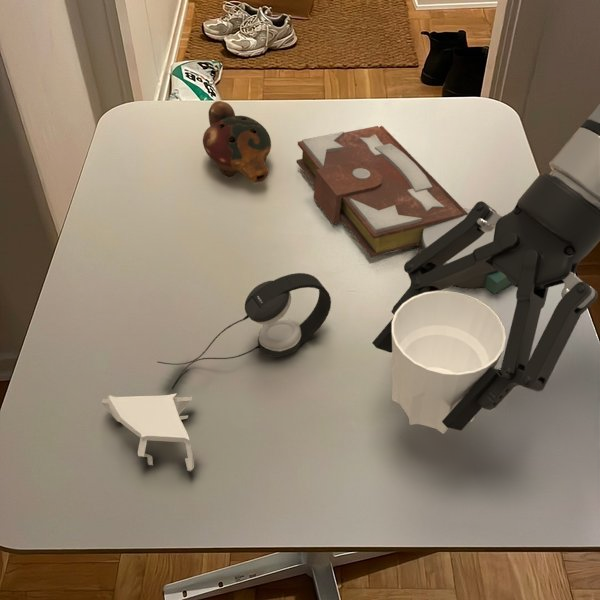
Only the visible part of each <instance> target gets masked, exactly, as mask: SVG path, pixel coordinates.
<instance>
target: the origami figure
mask: <svg viewBox="0 0 600 600" xmlns="http://www.w3.org/2000/svg"><path fill="white" fill-rule="evenodd" d="M192 400H193V396H182V397H181V396H179V397H178V396H177V393H171V394H167V395H163V394H162V395H136V396H135V395H133V396H132V395H131V396H114V395H112V394H108V396H107V398H102V401H101V404H102V405H103V406H104V407H105V409H106V410H107V411H108V412H109V413H110V415H112V417H113V419H115V421H116V422H117V423H121V424H122V425H123V426H124V427H125V428H126V429H128V430H129V431H130V432H132V433H133V434H135V435H136V437H138V438H140V439H139V444H138V448H137V456H138V457H143V458H147V465H148V466H154V464H153V463H154V461H153V456H152V455H151V454H147V453H146V447H147V442H148V441H155V442H172V443H173V442H174V443H184V446H185V449H186V454H187V457H185V458H184V461H185V465H186V470H187V471H188V472H192V471H193V470H194V467H195V461H194V452H193V449H192V446H191V440H190V437H189V433H188V432H187V430H186V427H185V426H184V424H183V422H182V420H185V419H186V420H187V419H188V418H189V415H181V414H182V412H183V411H184V410H185V408H186V407H187V406H188V405H189V404H190V403H191V402H192ZM175 403H178V404H177V406H176V404H175Z"/></svg>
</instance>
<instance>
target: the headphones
mask: <svg viewBox="0 0 600 600" xmlns="http://www.w3.org/2000/svg"><path fill="white" fill-rule="evenodd" d="M305 288H311V289H316V290H318V297H317V302H316V304H315V306H314V307H313V309H312V311H311V312H310V314H309V315H308V316H307V317H306V318H305V320H303V322H302V323H300V324H299V323H298V322H297V321H295V320H293V319H290V318H283V317H284V316H286V314H287V312H288V311H289V309H290V306H291V304H292V295H291V292H292V291H296V290H299V289H305ZM331 305H332V299H331V295H330V292H329V291H328V290H327V288H325V286H324V285H323V284H322V283H321V281H320V280H319V279H318V278H317V277H316V276H314V275H312V274H311V273H310V274H309V273H304V272H296V273H290V274H287V275H282V276H280V277H278V278H276V279H274V280H267V281H264V282H262V283H259V284H258V285H256V286H255V287H254V288H253V289H252V290H251V291H250V292H249V294H248V295H247V297H246V299H245V302H244V310H245V314H246V316H244V317H243V318H241V319H239V320H237V321H235V322H233V323H231V324H230V325H228V326H227V327H225V328H224V329H223V330H221V331H220V332H219V333H218V334H217V335H216V336H215V337H214V338H213V340H212V341H211V342H210V343H209V345H208V346H207V347H206V348H205V350H204V351H202V353H201V354H200V355H199V356H198V357H196V358H195V359H193V360H191V361H188V362H181V363H170V362H163V361H157V363H159V364H162V365H163V364H164V365H170V366H171V365H172V366H178V365H179V366H180V365H187V366H186V367H184V369H183V370H182V371H181V373H180V374H179V375H178V377H177V378H176V379H175V382H174V383H173V385H172V386H171V388H172V389H173V388H174V387H175V385H176V383H177V382H178V380H179V378H180V377H181V376H182V375H183V373H184V372H185V371H186V369H187V368H189V367H190V366H191V365H192V364H194V363H195V362H198V361H202V360H229V359H235V358H239V357H242V356H245V355H247V354H250V353H251V352H253V351H255V350H258V349H259V350H260V351H261V352H262V353H263V354H265V355H267V356H269V357H274V358H275V357H276V358H277V357H279V358H281V357H285V356H288V355H290V354H292V353H294V352H296V351H297V350H298V348H299V347H300V345H302V344H303V343H304V342H306V341H307V340H309V339H310V338H311V337H312V336H313V335H315V334H316V333H317V331H319V329H320V328H321V327H322V325H324V323H325V321H326V320H327V318H328V316H329V314H330V311H331V307H332V306H331ZM247 319H250V320H251V321H252V322H255V323H257V324H259V325H261V327H260V329H259V332H258V336H257V346H255V347H254V348H252V349H250V350H248V351H246V352H244V353H241V354H239V355H234V356H230V357H229V356H228V357H203V358H201V357H202V356H203V355H204V354H206V351H208V349H210V347H211V346H212V345H213V343H214V342H215V341H216V340H217V338H219V337H220V335H221V334H223V333H224V332H225V331H227V330H228V329H229V328H231V327H233V326H234V325H237V324H238V323H240V322H244V321H246V320H247Z"/></svg>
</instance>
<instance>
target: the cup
mask: <svg viewBox="0 0 600 600" xmlns="http://www.w3.org/2000/svg"><path fill="white" fill-rule="evenodd" d="M392 318H393V320H392V319H391V320H392V353H391V360H392V361H391V362H392V378H391V379H392V380H391V381H392V386H391V387H392V397H391V399H392V401H393V402H395V403H397V404H398V405H400V407H401V408H402V409H403V411H404V412H405V414H406V415H407V417H408V422H409V425H411V426H412V425H422V426H425V427H429V428H432V429H436V430H437V431H439V433H441V434H443V435H444V434H445V433H446V432H447V431H448V429H449V428H447V427H446V426H445V425H444V424H443V423H442V421H443V420H444V418H445V417H446V416H447V415H448V414H449V413H450V412H451V411H452V410H453V408H454V407H455V406H456V405H457V404H458V403H459V402H460V401H461V400H462V398H463V397H464V396H465V395H466V394H467V393H468V392H469V391H470V389H471V388H472V387H473V386H474V385H475V384H476V383H477V382H478V381H479V379H480V378H481V377H482V376H483V375H484V374H485V373H486V372H487V371H488V369H489V368H490V367H492V368H494V369H496V367H497V365H498V363H499V360H500V359H501V357H502V354H503V352H504V351H505V350H504V349H505V346H506V342H507V341H506V340H507V337H506V330H505V329H506V328H505V326H504V324H503V323H502V320H501V318H500V317H499V316H498V314H497V313H496V312H495V311H494V309H492V308H491V307H490V306H488V305H487V304H485V303H484V302H483V301H481V300H480V299H478V298H475V297H474V296H471V295H469V294H466V293H461V292H457V291H452V290H441V291H432V292H425V293H422V294H419V295H417V296H414V297H412V298H410V299H409V300H407V301H406V302H404V303H403V304H402V305H401V306H400V307H399V309H398V310H397V311H396V312H395V315H394V314H393V317H392ZM474 419H475V416H474V417H473V418H472V419H471V420H470V422H469V423H471V422H474Z"/></svg>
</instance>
